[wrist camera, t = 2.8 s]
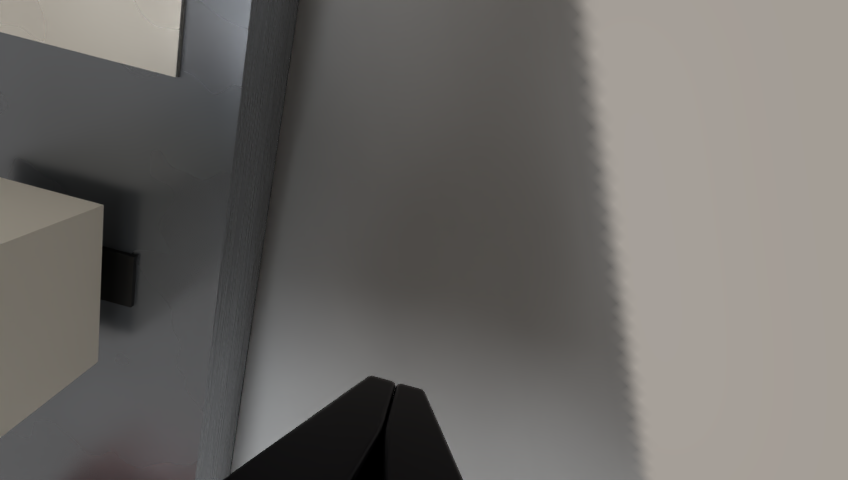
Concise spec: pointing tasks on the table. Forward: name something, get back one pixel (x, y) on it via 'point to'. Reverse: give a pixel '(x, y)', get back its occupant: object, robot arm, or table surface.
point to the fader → (46, 295)
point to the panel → (149, 216)
